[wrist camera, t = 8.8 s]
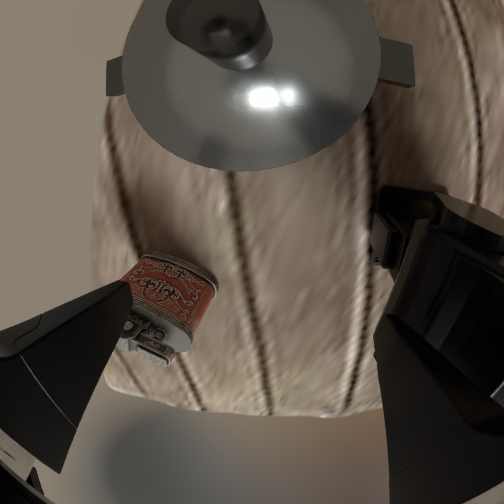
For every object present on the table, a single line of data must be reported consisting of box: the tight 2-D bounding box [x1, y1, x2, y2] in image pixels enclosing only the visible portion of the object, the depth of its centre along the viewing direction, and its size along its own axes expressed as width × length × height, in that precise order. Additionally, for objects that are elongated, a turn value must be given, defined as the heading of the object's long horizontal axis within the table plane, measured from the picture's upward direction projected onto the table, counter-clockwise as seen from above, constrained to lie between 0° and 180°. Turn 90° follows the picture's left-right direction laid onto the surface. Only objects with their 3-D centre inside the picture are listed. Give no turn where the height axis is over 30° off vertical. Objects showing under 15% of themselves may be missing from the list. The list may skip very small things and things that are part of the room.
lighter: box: [116, 251, 219, 367], centre depth 20 cm, size 8×3×10 cm, turn 72°
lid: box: [122, 0, 381, 171], centre depth 8 cm, size 12×12×5 cm
